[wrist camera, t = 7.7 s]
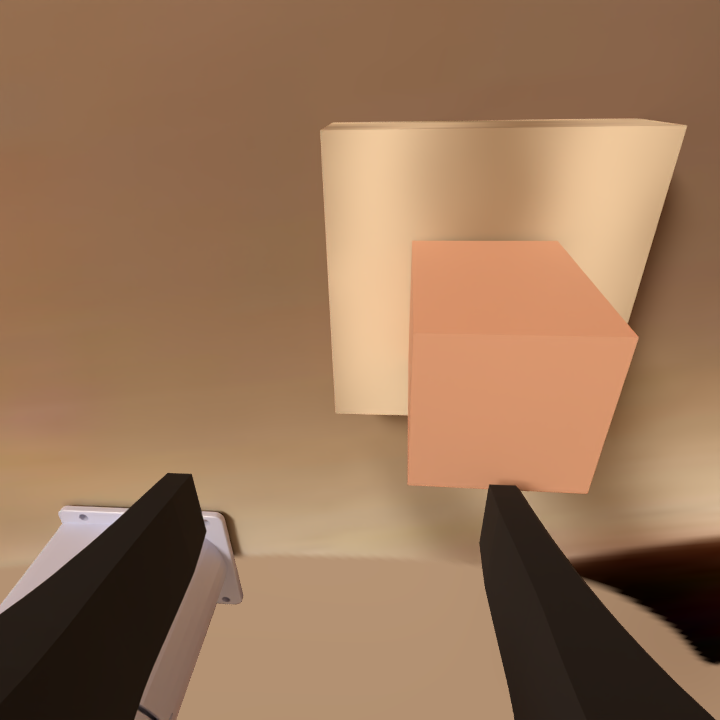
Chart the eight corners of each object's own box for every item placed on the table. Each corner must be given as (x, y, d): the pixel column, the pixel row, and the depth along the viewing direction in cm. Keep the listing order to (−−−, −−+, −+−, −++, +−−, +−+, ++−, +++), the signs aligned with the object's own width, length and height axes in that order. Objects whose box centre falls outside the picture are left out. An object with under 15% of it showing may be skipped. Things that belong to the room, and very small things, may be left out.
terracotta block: (408, 360, 17) (407, 485, 12) (412, 240, 15) (413, 333, 10) (533, 363, 17) (587, 493, 12) (557, 240, 14) (638, 337, 9)
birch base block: (344, 367, 21) (335, 413, 18) (334, 121, 16) (319, 130, 13) (569, 371, 21) (598, 420, 18) (631, 117, 16) (687, 125, 13)
